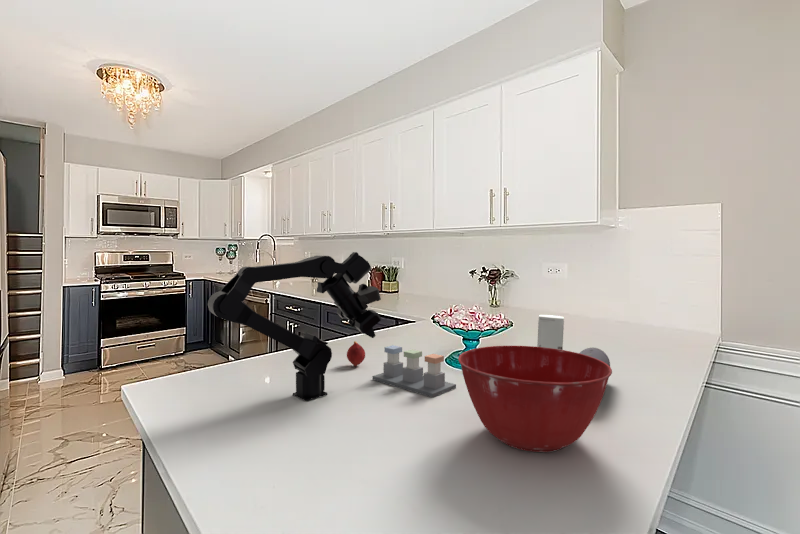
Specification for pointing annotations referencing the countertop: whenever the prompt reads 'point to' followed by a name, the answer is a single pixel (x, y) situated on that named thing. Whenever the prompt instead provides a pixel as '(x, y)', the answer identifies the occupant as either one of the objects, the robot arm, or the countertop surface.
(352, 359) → the onion
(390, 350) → the key
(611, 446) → the countertop surface
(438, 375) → the key console
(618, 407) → the countertop surface
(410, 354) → the key
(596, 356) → the bluetooth speaker
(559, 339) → the skincare box
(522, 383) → the mixing bowl
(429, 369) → the key
